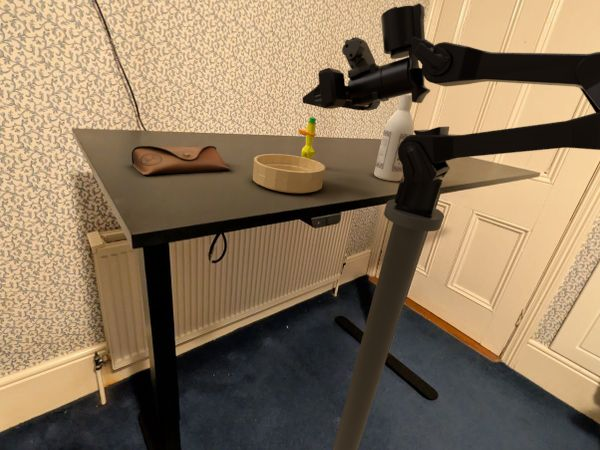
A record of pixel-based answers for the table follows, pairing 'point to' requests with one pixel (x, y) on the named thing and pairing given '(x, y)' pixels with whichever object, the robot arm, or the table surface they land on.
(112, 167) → the table surface
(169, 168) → the sunglasses case
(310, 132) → the toy figure
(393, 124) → the bath foam
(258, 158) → the bowl
